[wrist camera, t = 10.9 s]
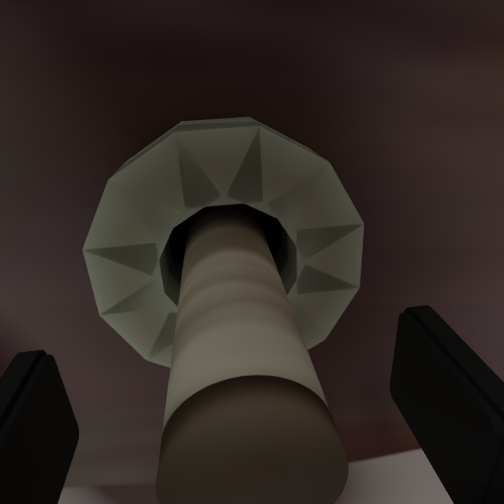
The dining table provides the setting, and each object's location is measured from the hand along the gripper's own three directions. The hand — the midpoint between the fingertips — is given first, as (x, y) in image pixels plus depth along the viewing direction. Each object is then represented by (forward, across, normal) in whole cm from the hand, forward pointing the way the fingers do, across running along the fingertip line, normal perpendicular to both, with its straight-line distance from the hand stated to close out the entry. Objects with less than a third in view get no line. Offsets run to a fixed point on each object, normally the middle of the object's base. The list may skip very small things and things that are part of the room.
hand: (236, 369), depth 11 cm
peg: (+11, 0, +1) cm, 11 cm away
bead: (+11, 0, +1) cm, 11 cm away
